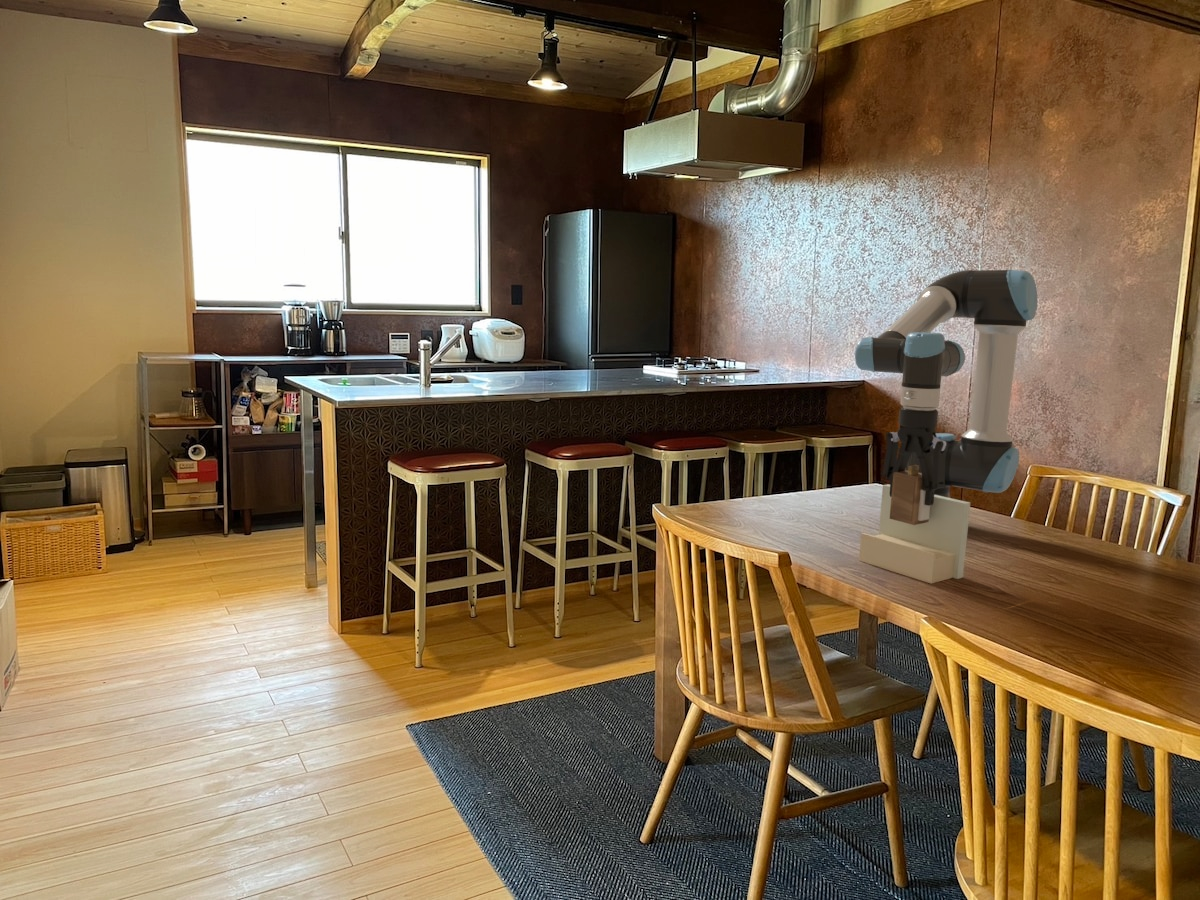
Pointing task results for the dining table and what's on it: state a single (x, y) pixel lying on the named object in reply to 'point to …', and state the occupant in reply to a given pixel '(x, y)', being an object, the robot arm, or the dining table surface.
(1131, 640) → the dining table surface
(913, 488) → the wooden block with peg
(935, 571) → the wall board
